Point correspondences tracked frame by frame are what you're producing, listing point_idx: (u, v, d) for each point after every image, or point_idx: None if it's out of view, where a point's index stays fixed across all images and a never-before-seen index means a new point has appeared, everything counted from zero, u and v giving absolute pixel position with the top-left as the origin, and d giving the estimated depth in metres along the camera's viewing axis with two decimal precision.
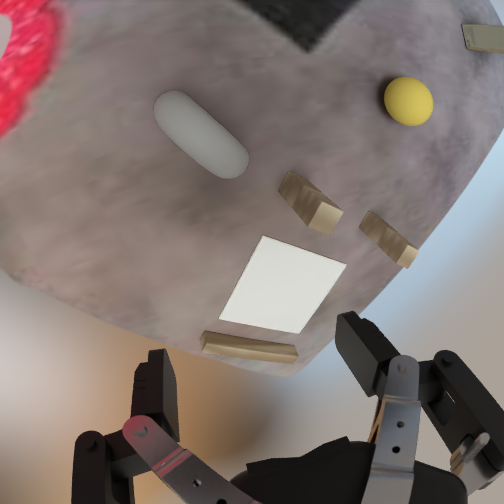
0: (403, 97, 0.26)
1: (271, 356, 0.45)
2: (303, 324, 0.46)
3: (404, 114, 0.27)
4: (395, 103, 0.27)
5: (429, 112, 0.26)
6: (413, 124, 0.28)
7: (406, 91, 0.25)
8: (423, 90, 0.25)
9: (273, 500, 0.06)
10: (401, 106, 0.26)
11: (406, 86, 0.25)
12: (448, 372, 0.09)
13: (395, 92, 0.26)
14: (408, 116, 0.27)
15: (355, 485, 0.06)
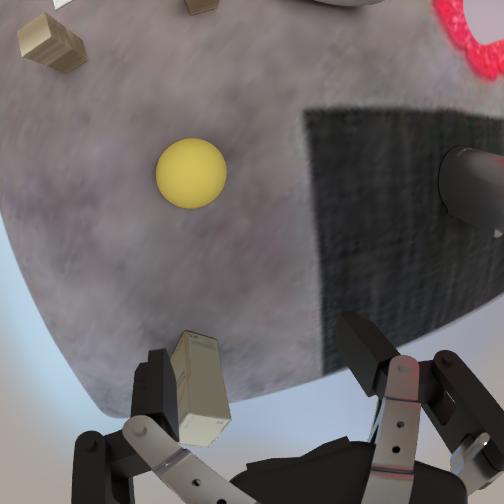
0: (214, 156, 0.23)
1: None
2: None
3: (192, 144, 0.22)
4: (209, 144, 0.23)
5: (174, 182, 0.22)
6: (167, 153, 0.22)
7: (218, 165, 0.23)
8: (207, 190, 0.23)
9: (273, 500, 0.06)
10: (204, 147, 0.22)
11: (222, 171, 0.23)
12: (448, 372, 0.09)
13: (220, 154, 0.23)
14: (187, 147, 0.22)
15: (355, 485, 0.06)
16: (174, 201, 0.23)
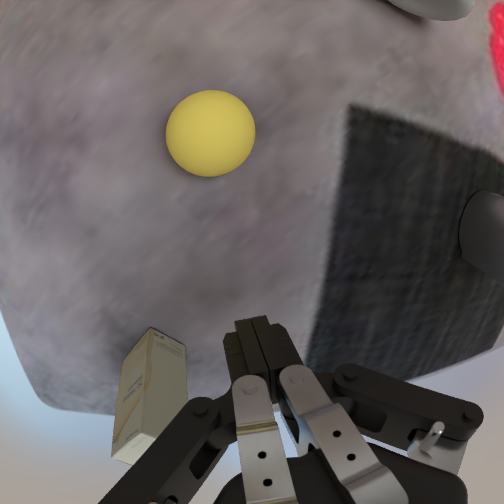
0: (247, 116, 0.17)
1: None
2: None
3: (224, 96, 0.17)
4: (243, 103, 0.18)
5: (191, 132, 0.16)
6: (190, 99, 0.17)
7: (249, 128, 0.17)
8: (228, 154, 0.17)
9: None
10: (238, 102, 0.17)
11: (251, 138, 0.18)
12: (359, 387, 0.09)
13: None
14: (217, 97, 0.16)
15: None
16: (182, 159, 0.18)
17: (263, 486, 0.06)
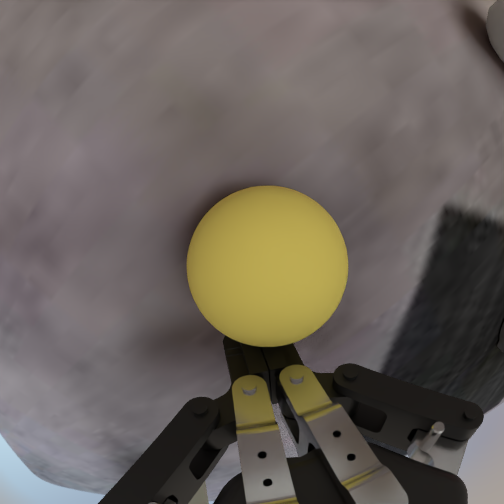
0: (344, 253, 0.10)
1: None
2: None
3: (307, 210, 0.09)
4: (333, 220, 0.10)
5: (245, 294, 0.09)
6: (240, 210, 0.09)
7: (346, 276, 0.10)
8: (309, 329, 0.09)
9: None
10: (330, 224, 0.10)
11: (344, 289, 0.10)
12: (359, 387, 0.09)
13: None
14: (297, 214, 0.09)
15: None
16: (221, 328, 0.10)
17: (263, 486, 0.06)
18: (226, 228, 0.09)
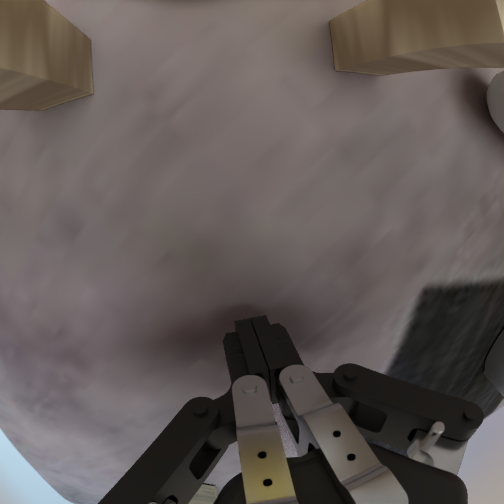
0: None
1: None
2: None
3: None
4: None
5: None
6: None
7: None
8: None
9: None
10: None
11: None
12: (359, 387, 0.09)
13: None
14: None
15: None
16: None
17: (263, 486, 0.06)
18: None
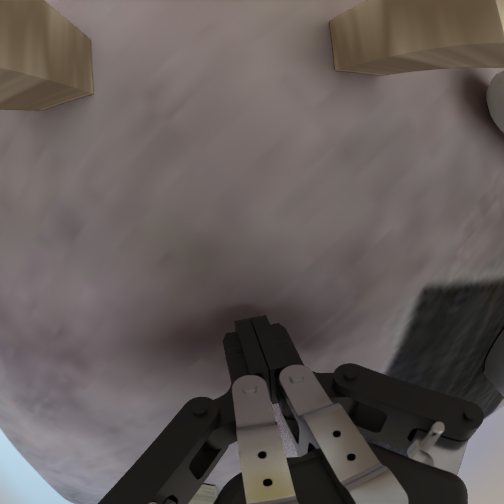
0: None
1: None
2: None
3: None
4: None
5: None
6: None
7: None
8: None
9: None
10: None
11: None
12: (359, 387, 0.09)
13: None
14: None
15: None
16: None
17: (263, 486, 0.06)
18: None
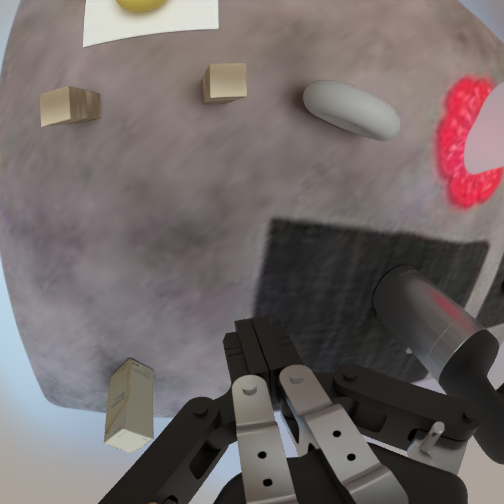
0: None
1: None
2: None
3: None
4: None
5: None
6: None
7: None
8: None
9: None
10: None
11: None
12: (359, 387, 0.09)
13: None
14: None
15: None
16: None
17: (263, 486, 0.06)
18: None
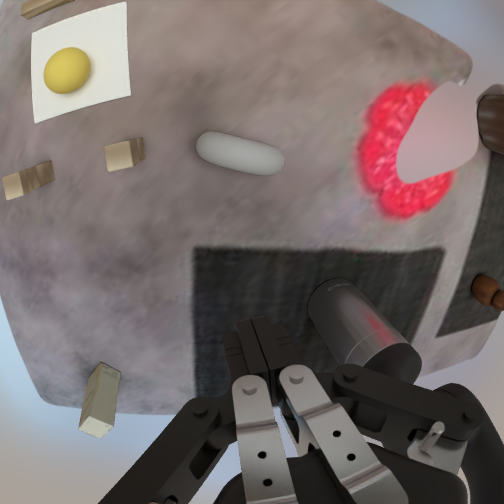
0: None
1: None
2: (33, 44, 0.23)
3: None
4: None
5: None
6: None
7: None
8: None
9: None
10: None
11: None
12: (359, 387, 0.09)
13: None
14: None
15: None
16: None
17: (263, 486, 0.06)
18: None
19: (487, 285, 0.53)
